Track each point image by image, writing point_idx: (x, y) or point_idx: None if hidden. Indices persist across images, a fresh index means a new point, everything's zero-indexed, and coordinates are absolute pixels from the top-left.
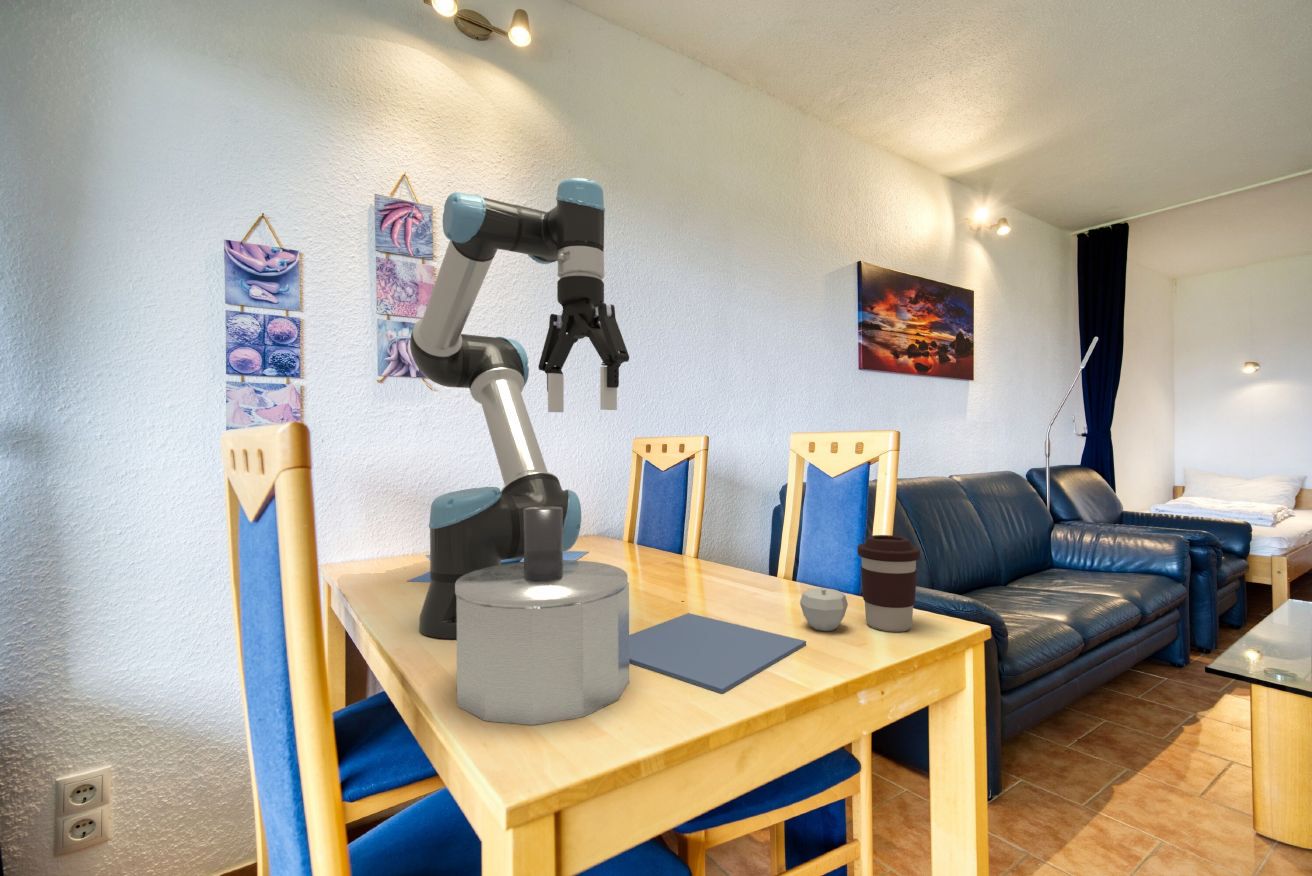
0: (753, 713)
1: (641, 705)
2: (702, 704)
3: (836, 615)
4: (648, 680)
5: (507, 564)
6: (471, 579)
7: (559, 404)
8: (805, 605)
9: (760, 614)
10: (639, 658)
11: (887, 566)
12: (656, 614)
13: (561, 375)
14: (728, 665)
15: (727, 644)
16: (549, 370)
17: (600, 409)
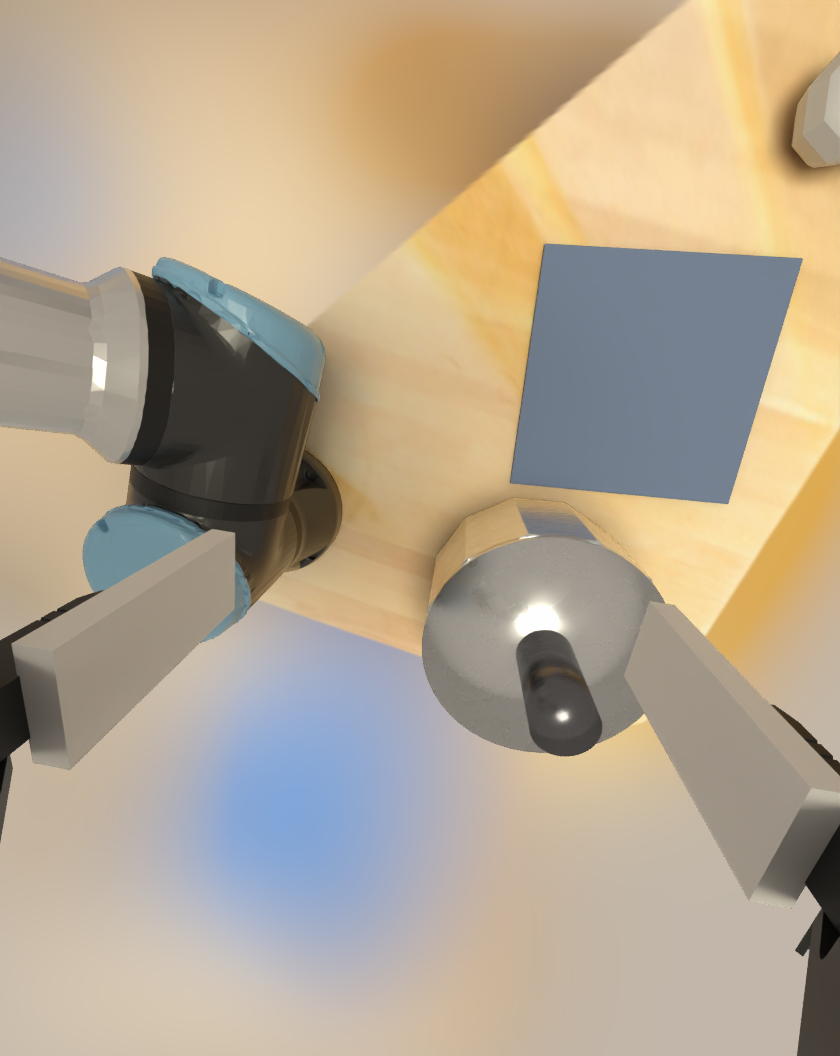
0: (774, 525)
1: (651, 572)
2: (712, 536)
3: None
4: (625, 517)
5: (431, 624)
6: (466, 707)
7: (213, 574)
8: (820, 153)
9: (669, 128)
10: (587, 481)
11: None
12: (485, 274)
13: (66, 662)
14: (710, 434)
15: (679, 358)
16: (10, 775)
17: (624, 676)
